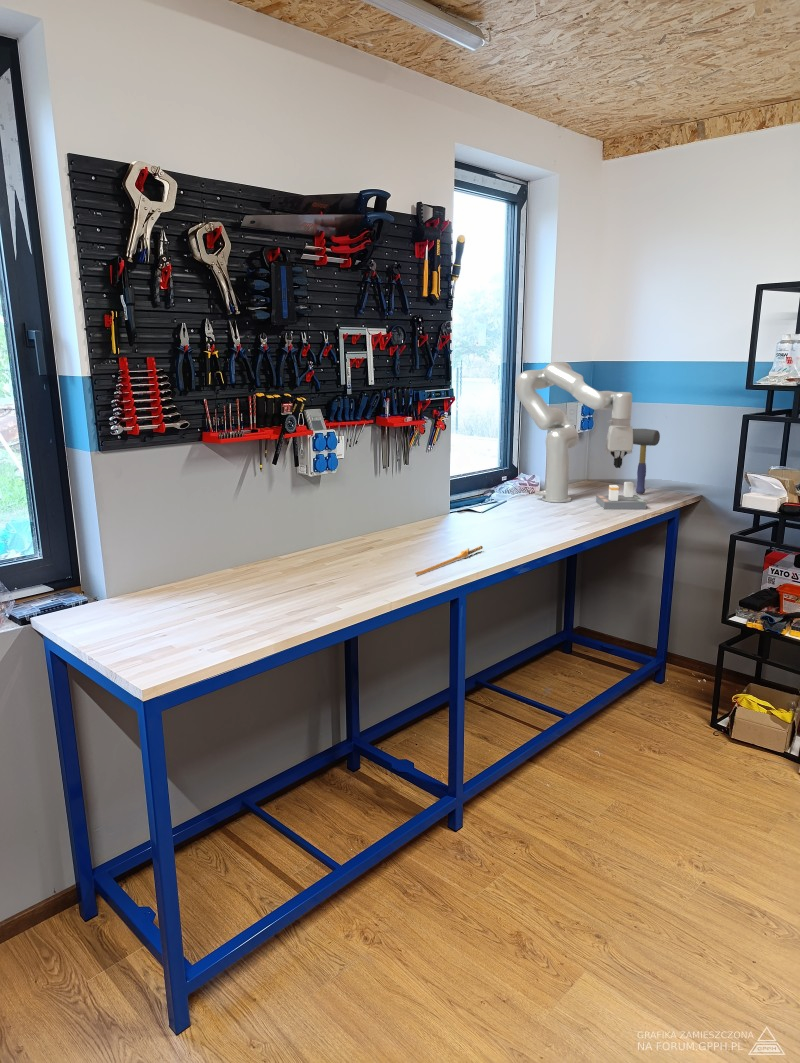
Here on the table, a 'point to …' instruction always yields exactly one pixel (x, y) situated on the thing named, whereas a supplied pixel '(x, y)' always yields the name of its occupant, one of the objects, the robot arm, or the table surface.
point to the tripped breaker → (613, 492)
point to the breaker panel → (622, 500)
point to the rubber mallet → (644, 453)
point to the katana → (450, 560)
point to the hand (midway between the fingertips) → (617, 467)
